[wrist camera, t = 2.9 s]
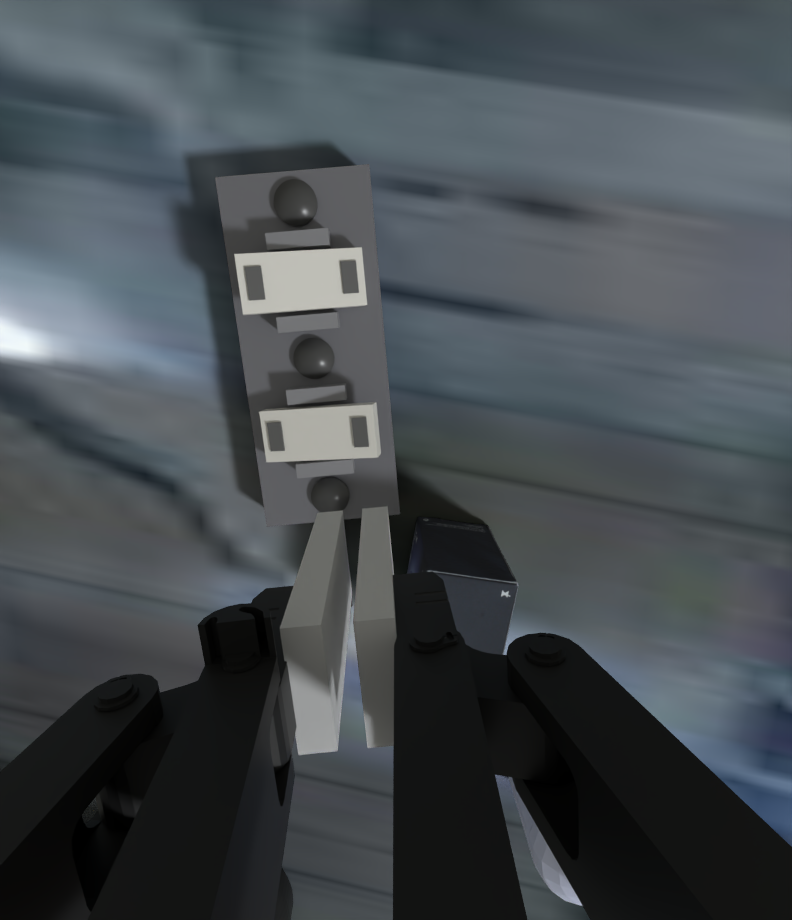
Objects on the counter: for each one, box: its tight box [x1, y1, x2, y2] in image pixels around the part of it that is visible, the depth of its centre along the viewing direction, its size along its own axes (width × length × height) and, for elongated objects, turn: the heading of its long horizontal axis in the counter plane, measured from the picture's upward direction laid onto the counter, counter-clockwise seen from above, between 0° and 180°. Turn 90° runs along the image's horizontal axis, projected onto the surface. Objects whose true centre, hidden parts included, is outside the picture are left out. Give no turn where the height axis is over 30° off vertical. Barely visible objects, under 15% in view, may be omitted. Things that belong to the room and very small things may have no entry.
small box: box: [407, 517, 519, 655], centre depth 40 cm, size 11×6×10 cm, turn 171°
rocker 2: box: [259, 402, 381, 462], centre depth 38 cm, size 8×4×1 cm, turn 95°
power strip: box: [215, 164, 400, 607], centre depth 40 cm, size 10×32×5 cm, turn 5°
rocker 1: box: [234, 247, 367, 315], centre depth 35 cm, size 8×4×1 cm, turn 95°
